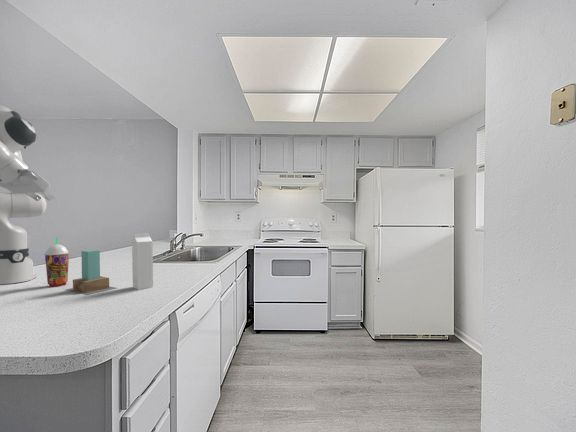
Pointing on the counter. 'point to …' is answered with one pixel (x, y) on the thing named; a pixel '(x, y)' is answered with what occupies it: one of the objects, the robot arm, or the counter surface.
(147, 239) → the milk
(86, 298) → the counter surface
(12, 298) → the counter surface
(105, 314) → the counter surface
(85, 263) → the pillar
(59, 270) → the smoothie
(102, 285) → the base slab
